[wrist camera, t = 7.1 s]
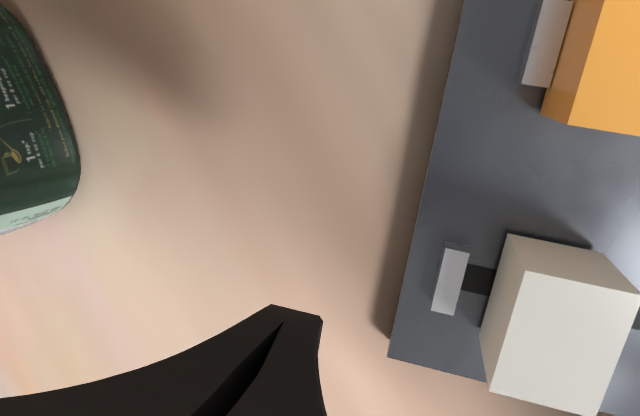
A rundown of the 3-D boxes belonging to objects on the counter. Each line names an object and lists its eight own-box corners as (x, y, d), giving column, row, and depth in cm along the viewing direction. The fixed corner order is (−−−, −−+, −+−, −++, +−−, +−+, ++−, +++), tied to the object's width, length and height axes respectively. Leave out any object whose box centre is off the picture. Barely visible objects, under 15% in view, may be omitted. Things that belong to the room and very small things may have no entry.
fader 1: (643, 130, 14) (699, 146, 11) (539, 113, 15) (567, 124, 12) (693, -14, 13) (771, -39, 10) (579, -27, 14) (621, -54, 11)
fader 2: (565, 356, 17) (595, 418, 14) (478, 336, 17) (488, 391, 14) (602, 252, 16) (643, 295, 13) (507, 233, 16) (525, 270, 13)
